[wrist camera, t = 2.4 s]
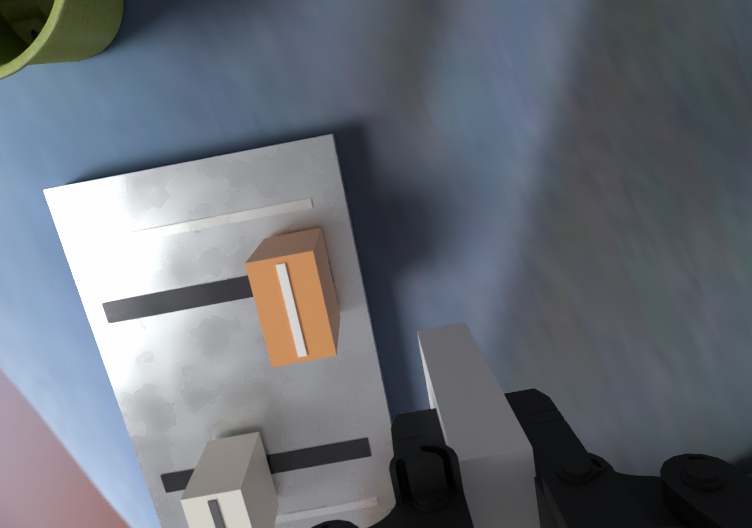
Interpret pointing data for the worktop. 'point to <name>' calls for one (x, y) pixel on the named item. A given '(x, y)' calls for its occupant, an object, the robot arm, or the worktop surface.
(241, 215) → the console
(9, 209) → the worktop surface
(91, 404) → the worktop surface
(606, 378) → the worktop surface
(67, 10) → the plant pot
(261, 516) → the fader far
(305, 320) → the fader near
